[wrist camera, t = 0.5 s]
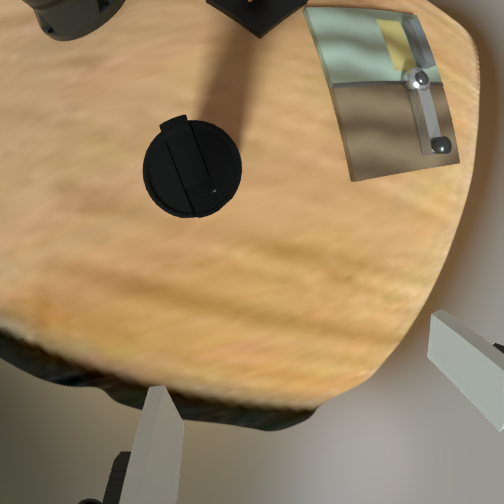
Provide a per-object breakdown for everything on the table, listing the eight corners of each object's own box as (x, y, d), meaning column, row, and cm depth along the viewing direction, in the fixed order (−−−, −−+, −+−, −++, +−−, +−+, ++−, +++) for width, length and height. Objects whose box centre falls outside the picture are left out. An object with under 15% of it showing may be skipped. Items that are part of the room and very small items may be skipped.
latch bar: (398, 71, 33) (414, 62, 28) (416, 71, 33) (433, 64, 29) (419, 155, 36) (438, 154, 32) (437, 153, 36) (455, 152, 32)
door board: (303, 12, 31) (310, -2, 27) (412, 18, 32) (424, 9, 28) (351, 181, 38) (363, 182, 34) (454, 163, 38) (470, 163, 35)
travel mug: (223, 140, 35) (220, 98, 16) (241, 189, 37) (258, 200, 18) (176, 158, 35) (124, 138, 16) (194, 206, 37) (161, 237, 18)
